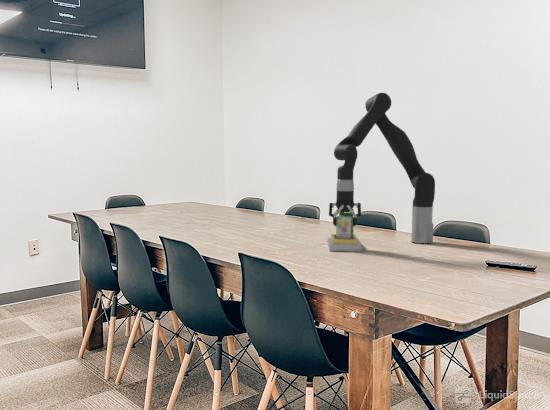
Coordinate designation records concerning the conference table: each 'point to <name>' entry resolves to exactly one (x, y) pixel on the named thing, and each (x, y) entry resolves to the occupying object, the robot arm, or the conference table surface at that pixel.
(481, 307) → the conference table surface
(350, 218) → the ink box
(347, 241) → the white yellow box
